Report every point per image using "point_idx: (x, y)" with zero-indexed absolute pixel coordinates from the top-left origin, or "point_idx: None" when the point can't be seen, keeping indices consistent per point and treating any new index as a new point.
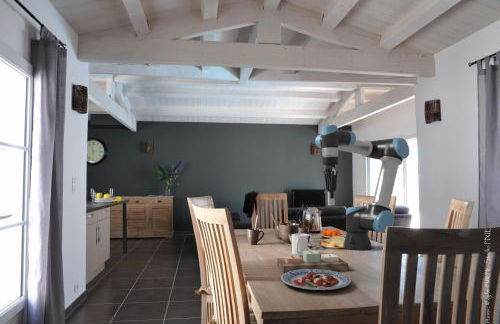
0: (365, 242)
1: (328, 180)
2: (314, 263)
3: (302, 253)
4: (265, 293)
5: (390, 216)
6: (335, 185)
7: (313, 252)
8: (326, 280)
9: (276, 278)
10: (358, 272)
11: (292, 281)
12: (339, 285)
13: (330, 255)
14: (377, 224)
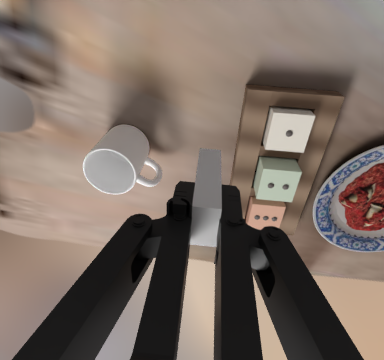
0: None
1: (177, 348)
2: (302, 177)
3: (148, 148)
4: (379, 271)
5: None
6: (305, 277)
7: (282, 182)
8: None
9: (315, 242)
10: (368, 71)
11: (356, 231)
12: None
13: (290, 132)
14: None
